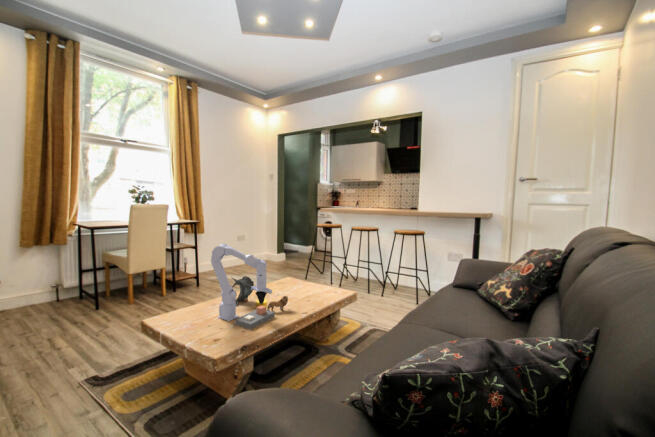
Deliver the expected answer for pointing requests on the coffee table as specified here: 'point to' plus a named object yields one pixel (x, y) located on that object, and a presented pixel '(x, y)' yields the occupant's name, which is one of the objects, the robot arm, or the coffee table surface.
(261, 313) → the salmon pink block
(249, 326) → the button housing
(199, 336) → the coffee table surface
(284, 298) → the lion figurine
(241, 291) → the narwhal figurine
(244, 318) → the cream cube
